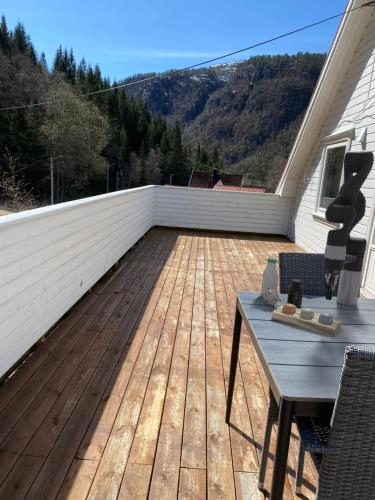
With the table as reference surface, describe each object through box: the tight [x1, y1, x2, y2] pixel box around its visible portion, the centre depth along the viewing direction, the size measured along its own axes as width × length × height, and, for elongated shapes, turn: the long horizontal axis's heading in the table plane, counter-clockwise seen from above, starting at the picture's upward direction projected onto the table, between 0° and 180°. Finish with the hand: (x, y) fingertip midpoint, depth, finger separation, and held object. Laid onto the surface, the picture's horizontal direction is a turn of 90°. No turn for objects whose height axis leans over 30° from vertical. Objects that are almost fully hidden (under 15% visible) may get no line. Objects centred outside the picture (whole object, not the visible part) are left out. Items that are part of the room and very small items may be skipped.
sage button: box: [300, 307, 315, 319], centre depth 140 cm, size 5×5×3 cm
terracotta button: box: [282, 303, 297, 314], centre depth 144 cm, size 5×5×3 cm
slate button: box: [318, 312, 334, 324], centre depth 136 cm, size 5×5×3 cm
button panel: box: [271, 304, 343, 337], centre depth 140 cm, size 12×25×3 cm, turn 54°
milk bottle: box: [260, 257, 279, 298], centre depth 170 cm, size 8×8×20 cm
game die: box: [259, 288, 282, 308], centre depth 158 cm, size 9×8×10 cm
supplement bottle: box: [286, 278, 304, 308], centre depth 161 cm, size 7×7×12 cm
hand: (328, 299), depth 134 cm, fingers closed
